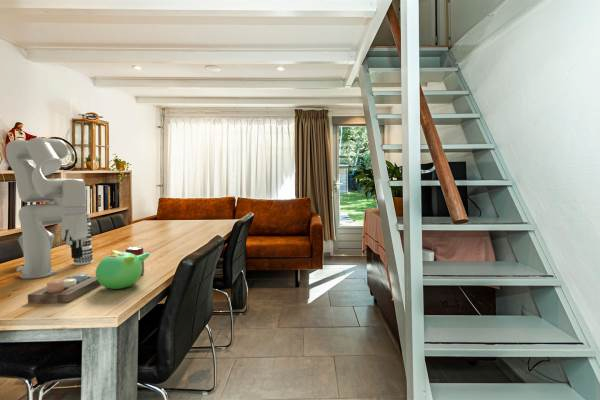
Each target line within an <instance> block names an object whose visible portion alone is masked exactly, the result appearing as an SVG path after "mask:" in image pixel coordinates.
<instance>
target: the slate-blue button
mask: <svg viewBox="0 0 600 400" xmlns="http://www.w3.org/2000/svg"><path fill="white" fill-rule="evenodd" d="M87 276H88V274H87V273H78V274H73V275H72V276H71V277H72V278H73V279H76V282H83V281H85V280H87Z"/></svg>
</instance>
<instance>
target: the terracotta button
mask: <svg viewBox="0 0 600 400" xmlns="http://www.w3.org/2000/svg"><path fill="white" fill-rule="evenodd" d="M46 286H47V294H56V293H61V292H63V291H64V281H62V279H60V280H54V281H53V280H52V281H49V282H47V283H46Z"/></svg>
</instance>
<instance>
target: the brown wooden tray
mask: <svg viewBox="0 0 600 400" xmlns="http://www.w3.org/2000/svg"><path fill="white" fill-rule="evenodd" d="M66 279H73V278H72V276H67V277H65V278H63V279H61V280H66ZM76 284H77V285H75V286H73V287H64V291H63V292H61V293H56V294H47V285H46V286H44V287H42V288H40V289H37V290H35V291H33V292H30V293H28V294H27V304H70V303H71V302H73V301H75V300H77V299H78V298H80V297H82V296H84V295H86V294H87V293H89V292H91V291H93V290H95V289H97V288H98V287H100V286H102V285H101V284H100V283H99V282H98V280H97V278H96V275H95V276H89V275H87V280H85V281H83V282H76Z"/></svg>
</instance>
